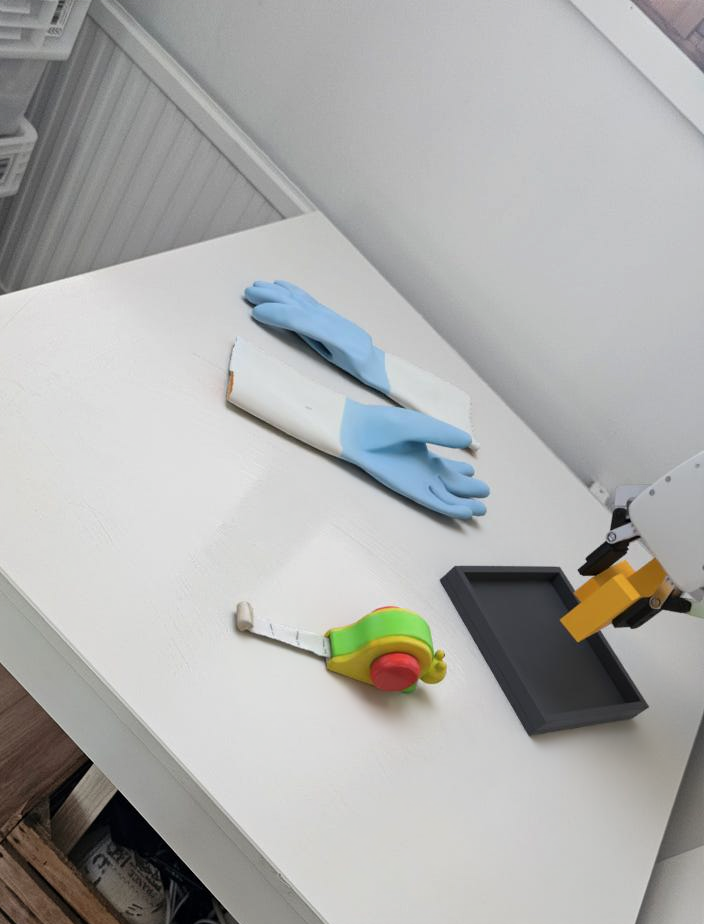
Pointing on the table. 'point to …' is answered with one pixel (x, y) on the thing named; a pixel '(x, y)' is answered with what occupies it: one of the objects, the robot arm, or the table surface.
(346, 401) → the rubber gloves
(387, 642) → the toy measuring tape
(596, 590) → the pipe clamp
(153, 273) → the table surface
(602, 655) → the dark grey tray
